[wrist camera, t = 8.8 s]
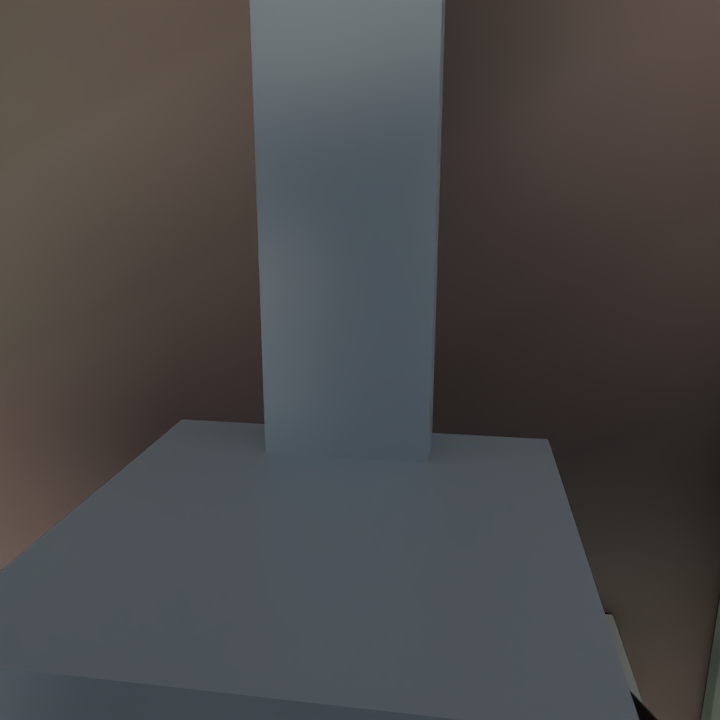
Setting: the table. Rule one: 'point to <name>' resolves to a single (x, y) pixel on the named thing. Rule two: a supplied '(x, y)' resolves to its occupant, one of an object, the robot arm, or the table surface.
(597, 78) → the table surface
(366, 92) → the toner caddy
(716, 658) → the tray
